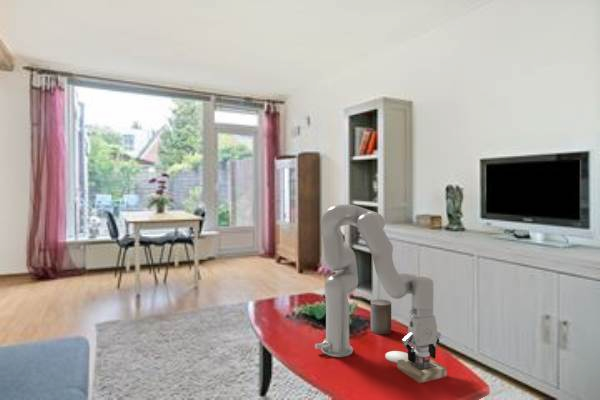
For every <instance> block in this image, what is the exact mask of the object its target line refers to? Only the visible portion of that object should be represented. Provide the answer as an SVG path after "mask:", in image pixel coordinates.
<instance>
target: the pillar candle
mask: <svg viewBox="0 0 600 400" xmlns="http://www.w3.org/2000/svg"><path fill="white" fill-rule="evenodd" d="M370 331H371V332H372V331H373V332H374V334H377V335H390V334H391V333H392V302H391V300H387V299H382V298H381V299H378V298H377V299H372V300H371V301H370ZM373 332H372V333H373Z"/></svg>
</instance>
